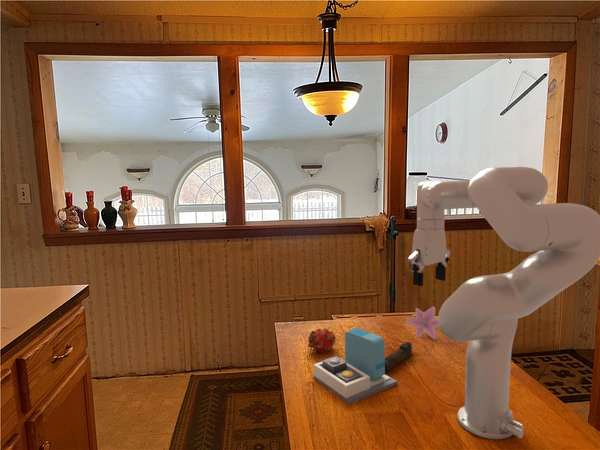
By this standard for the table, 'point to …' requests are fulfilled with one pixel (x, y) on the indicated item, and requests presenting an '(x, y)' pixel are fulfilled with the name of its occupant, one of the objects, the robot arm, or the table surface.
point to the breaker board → (352, 383)
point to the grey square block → (334, 365)
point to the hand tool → (398, 356)
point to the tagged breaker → (347, 375)
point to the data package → (365, 352)
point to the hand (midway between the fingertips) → (429, 282)
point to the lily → (425, 322)
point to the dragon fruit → (321, 340)
